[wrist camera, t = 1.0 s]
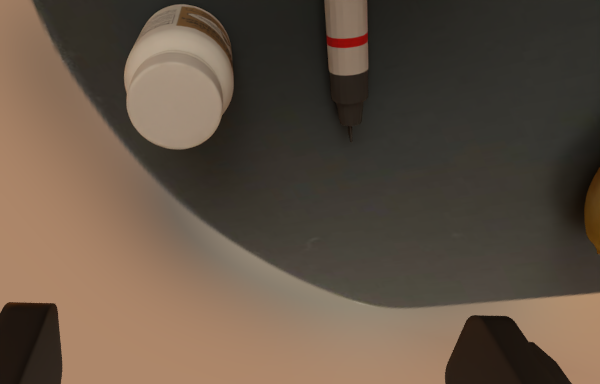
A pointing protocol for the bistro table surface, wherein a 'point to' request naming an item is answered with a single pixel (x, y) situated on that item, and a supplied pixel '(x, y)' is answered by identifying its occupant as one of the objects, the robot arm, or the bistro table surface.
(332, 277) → the bistro table surface
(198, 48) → the pill bottle
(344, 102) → the marker
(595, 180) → the fruit
